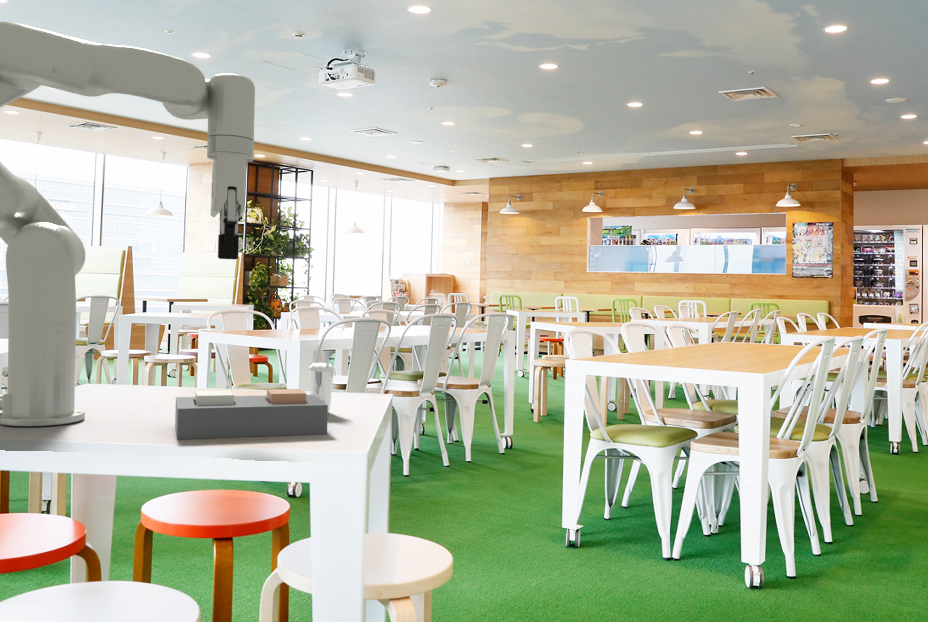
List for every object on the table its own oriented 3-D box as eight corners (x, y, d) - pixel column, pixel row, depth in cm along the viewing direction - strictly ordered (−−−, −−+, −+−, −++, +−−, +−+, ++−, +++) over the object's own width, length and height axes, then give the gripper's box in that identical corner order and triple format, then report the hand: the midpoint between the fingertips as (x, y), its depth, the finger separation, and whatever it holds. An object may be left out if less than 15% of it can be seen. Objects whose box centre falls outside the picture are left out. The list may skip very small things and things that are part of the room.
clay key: (270, 419, 123) (271, 393, 123) (266, 413, 128) (267, 389, 128) (305, 418, 125) (306, 393, 125) (299, 413, 130) (300, 388, 130)
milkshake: (315, 416, 140) (316, 359, 139) (303, 411, 144) (305, 356, 144) (338, 414, 142) (340, 359, 142) (326, 410, 146) (328, 356, 146)
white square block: (196, 422, 119) (197, 395, 119) (194, 416, 124) (195, 391, 124) (233, 421, 121) (234, 395, 121) (230, 415, 126) (231, 390, 126)
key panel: (177, 439, 115) (177, 408, 115) (175, 425, 126) (175, 397, 126) (327, 433, 123) (327, 405, 123) (312, 420, 134) (313, 394, 134)
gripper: (204, 154, 139) (202, 259, 140) (210, 141, 125) (207, 256, 126) (248, 158, 142) (246, 260, 143) (258, 145, 128) (255, 259, 129)
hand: (228, 258), depth 134 cm, fingers closed
